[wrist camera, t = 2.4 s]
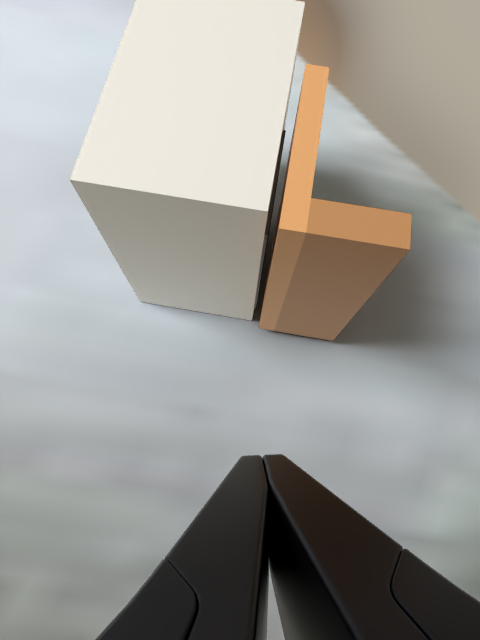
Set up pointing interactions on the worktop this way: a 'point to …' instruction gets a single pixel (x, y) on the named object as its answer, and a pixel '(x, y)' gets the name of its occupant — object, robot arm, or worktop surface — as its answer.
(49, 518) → the worktop surface
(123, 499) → the worktop surface
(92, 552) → the worktop surface
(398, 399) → the worktop surface
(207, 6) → the block
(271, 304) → the orange l-shaped block
